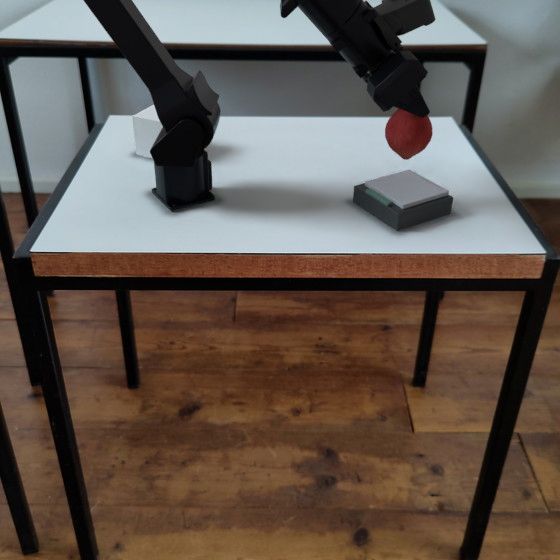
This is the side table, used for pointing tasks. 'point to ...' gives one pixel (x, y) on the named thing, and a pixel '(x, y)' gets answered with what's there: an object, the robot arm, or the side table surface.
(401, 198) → the scale
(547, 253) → the side table surface
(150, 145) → the white cube
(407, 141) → the onion
